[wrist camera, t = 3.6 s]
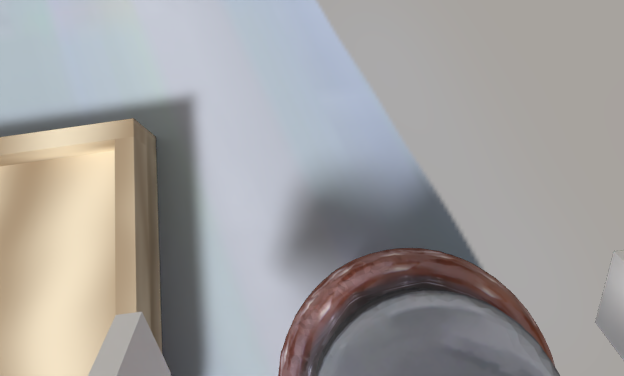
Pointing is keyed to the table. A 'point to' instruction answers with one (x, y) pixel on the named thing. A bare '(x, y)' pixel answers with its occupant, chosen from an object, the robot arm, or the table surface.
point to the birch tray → (75, 243)
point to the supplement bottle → (413, 322)
